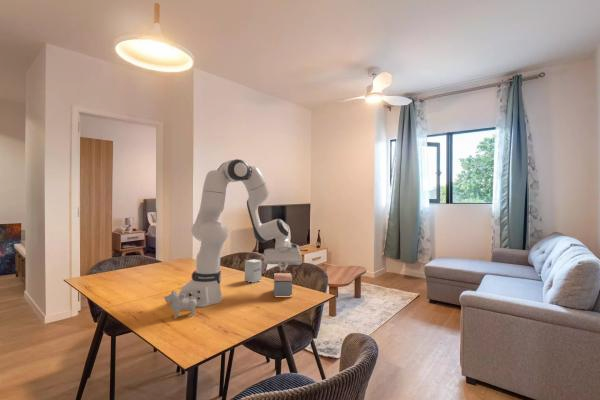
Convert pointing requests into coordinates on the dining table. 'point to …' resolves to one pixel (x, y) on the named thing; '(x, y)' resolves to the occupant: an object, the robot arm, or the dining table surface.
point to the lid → (282, 277)
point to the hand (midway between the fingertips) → (283, 270)
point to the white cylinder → (253, 270)
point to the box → (282, 288)
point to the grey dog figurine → (181, 303)
